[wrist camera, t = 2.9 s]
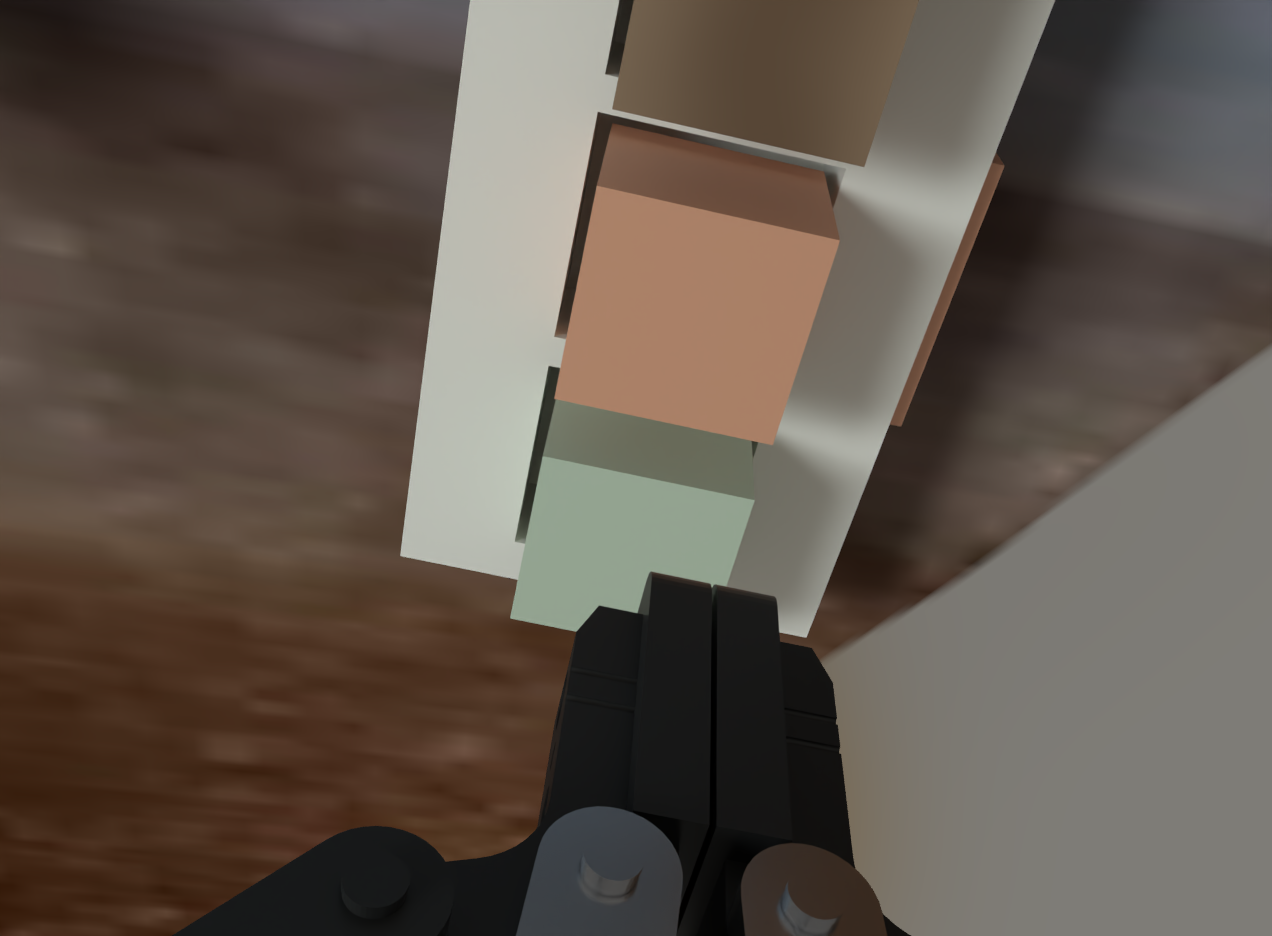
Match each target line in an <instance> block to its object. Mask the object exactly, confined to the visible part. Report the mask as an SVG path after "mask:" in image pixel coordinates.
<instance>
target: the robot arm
mask: <svg viewBox="0 0 1272 936" xmlns="http://www.w3.org/2000/svg"><path fill="white" fill-rule="evenodd" d="M836 719H837V715H836V706H835V698H834V689H833V683H832V681H831V679H830V677H829V676H828V674H827V672H826V671H825V669H824V667H823V666H822V664H821V662H820V661H819V659H818V658H817V656H816V654H815V653H814V651H813V649H812V648H809V647H804V646H799V645H794V644H789V643H784V642H780V636H779V621H778V606H777V600H776V598H775V597H774V596H770V595H765V594H761V593H756V592H751V591H746V590H741V589H736V588H731V587H726V586H721V585H717V584H715V585H713V587H711V584H710V583H705V582H701V581H696V580H691V579H686V578H681V577H676V576H671V575H666V574H661V573H656V572H652V571H651V572H650V573H649V575H648V578H647V581H646V584H645V587H644V591H643V595H642V598H641V602H640V606H639V609H638V613H634V612H629V611H624V610H619V609H614V608H609V607H604V606H598V607H597V608H596V610H595V611H594V612H593V613H592V614H591V615H590V617H589V618H588V619H587V620H586V621H585V622H584V624H583V625H582V626H581V627H580V628H579V629H578V631H577V632H576V636H575V640H574V644H573V649H572V653H571V657H570V661H569V665H568V670H567V674H566V678H565V682H564V687H563V691H562V695H561V699H560V703H559V708H558V712H557V716H556V720H555V725H554V731H553V737H552V743H551V749H550V755H549V762H548V767H547V773H546V779H545V785H544V792H543V797H542V803H541V809H540V815H539V821H538V827H537V829H536V830H535V831H534V832H533V833H532V834H531V835H530V836H529V837H528V838H527V839H526V840H524V841H523V842H521V843H520V844H519V845H517V846H515V847H513V848H511V849H509V850H507V851H505V852H502V853H499V854H496V855H493V856H488V857H483V858H477V859H467V860H458V861H449V862H445V860H444V859H443V857H442V856H441V855H440V854H439V853H438V852H437V850H436V849H435V848H433V847H432V846H431V845H430V844H429V843H428V842H426V841H425V840H423V839H421V838H420V837H418V836H416V835H414V834H412V833H409V832H407V831H404V830H400V829H396V828H392V827H382V826H369V827H360V828H355V829H350V830H347V831H344V832H342V833H339V834H336V835H335V836H333V837H331V838H329V839H327V840H325V841H324V842H322V843H320V844H319V845H317V846H315V847H314V848H312V849H311V850H309V851H307V852H306V853H304V854H303V855H301V856H299V857H298V858H296V859H295V860H293V861H291V862H290V863H288V864H287V865H285V866H283V867H282V868H280V869H278V870H277V871H275V872H274V873H272V874H270V875H269V876H267V877H266V878H264V879H262V880H261V881H259V882H258V883H256V884H254V885H253V886H251V887H250V888H248V889H246V890H245V891H243V892H241V893H240V894H238V895H237V896H235V897H233V898H232V899H230V900H229V901H227V902H225V903H224V904H222V905H221V906H219V907H217V908H216V909H214V910H213V911H211V912H209V913H208V914H206V915H204V916H203V917H201V918H200V919H198V920H196V921H195V922H193V923H192V924H190V925H188V926H187V927H185V928H184V929H182V930H180V931H179V932H177V933H176V934H174V935H172V936H911V935H909V934H907V933H906V932H904V931H903V930H901V929H900V928H899V927H897V926H896V925H895V924H893V923H892V922H891V921H890V920H889V919H888V918H887V917H885V916H884V915H883V913H882V910H881V907H880V904H879V901H878V899H877V897H876V895H875V893H874V891H873V889H872V888H871V886H870V885H869V883H868V882H867V881H866V879H865V878H864V877H863V876H862V875H861V874H860V873H859V872H858V871H857V870H856V869H855V865H854V860H853V853H852V845H851V835H850V827H849V819H848V810H847V801H846V792H845V784H844V775H843V767H842V758H841V754H839V749H840V742H839V733H838V725H836Z"/></svg>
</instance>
